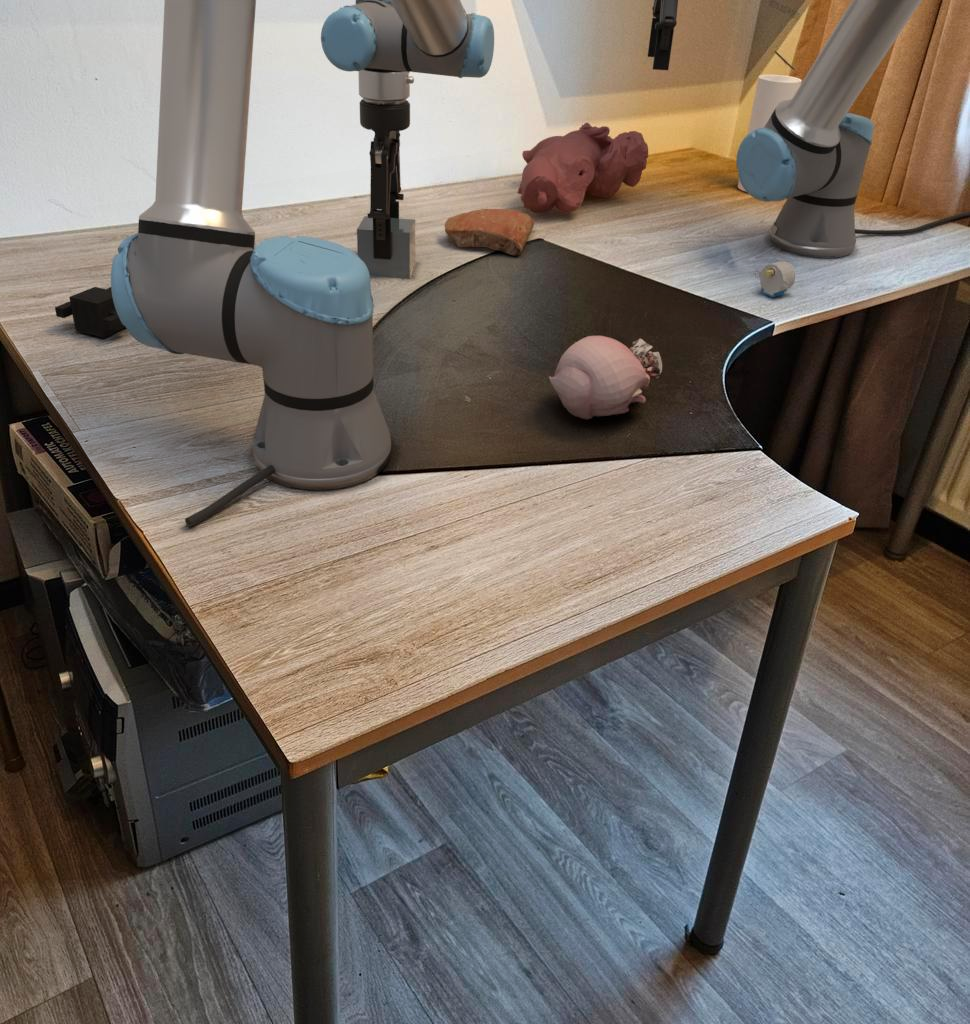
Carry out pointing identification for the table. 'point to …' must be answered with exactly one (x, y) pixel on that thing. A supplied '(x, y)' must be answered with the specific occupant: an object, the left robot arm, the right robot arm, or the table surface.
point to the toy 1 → (92, 312)
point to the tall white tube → (771, 95)
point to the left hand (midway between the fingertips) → (386, 249)
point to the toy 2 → (604, 376)
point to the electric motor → (776, 278)
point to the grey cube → (400, 248)
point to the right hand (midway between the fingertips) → (657, 63)
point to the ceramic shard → (491, 229)
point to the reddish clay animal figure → (580, 168)
